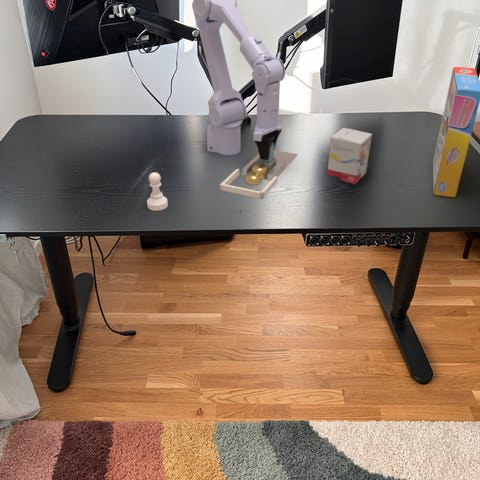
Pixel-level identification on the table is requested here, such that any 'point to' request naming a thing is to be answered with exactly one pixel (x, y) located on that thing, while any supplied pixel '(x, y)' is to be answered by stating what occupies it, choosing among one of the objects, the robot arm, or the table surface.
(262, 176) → the gold knob
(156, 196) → the chess pawn
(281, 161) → the slotted rail
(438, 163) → the game box
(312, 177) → the table surface
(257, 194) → the tray
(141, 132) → the table surface
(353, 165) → the ink box
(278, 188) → the table surface
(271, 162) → the teal and gray box
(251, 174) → the gold round piece
